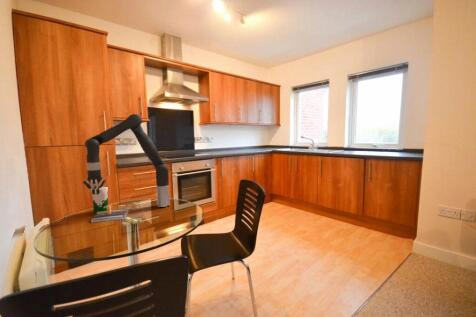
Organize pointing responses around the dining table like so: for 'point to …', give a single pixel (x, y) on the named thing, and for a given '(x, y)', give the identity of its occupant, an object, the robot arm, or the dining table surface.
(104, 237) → the dining table surface
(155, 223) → the dining table surface
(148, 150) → the robot arm
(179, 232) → the dining table surface
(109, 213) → the breaker lever
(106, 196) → the milk carton
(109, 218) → the panel
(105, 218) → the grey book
